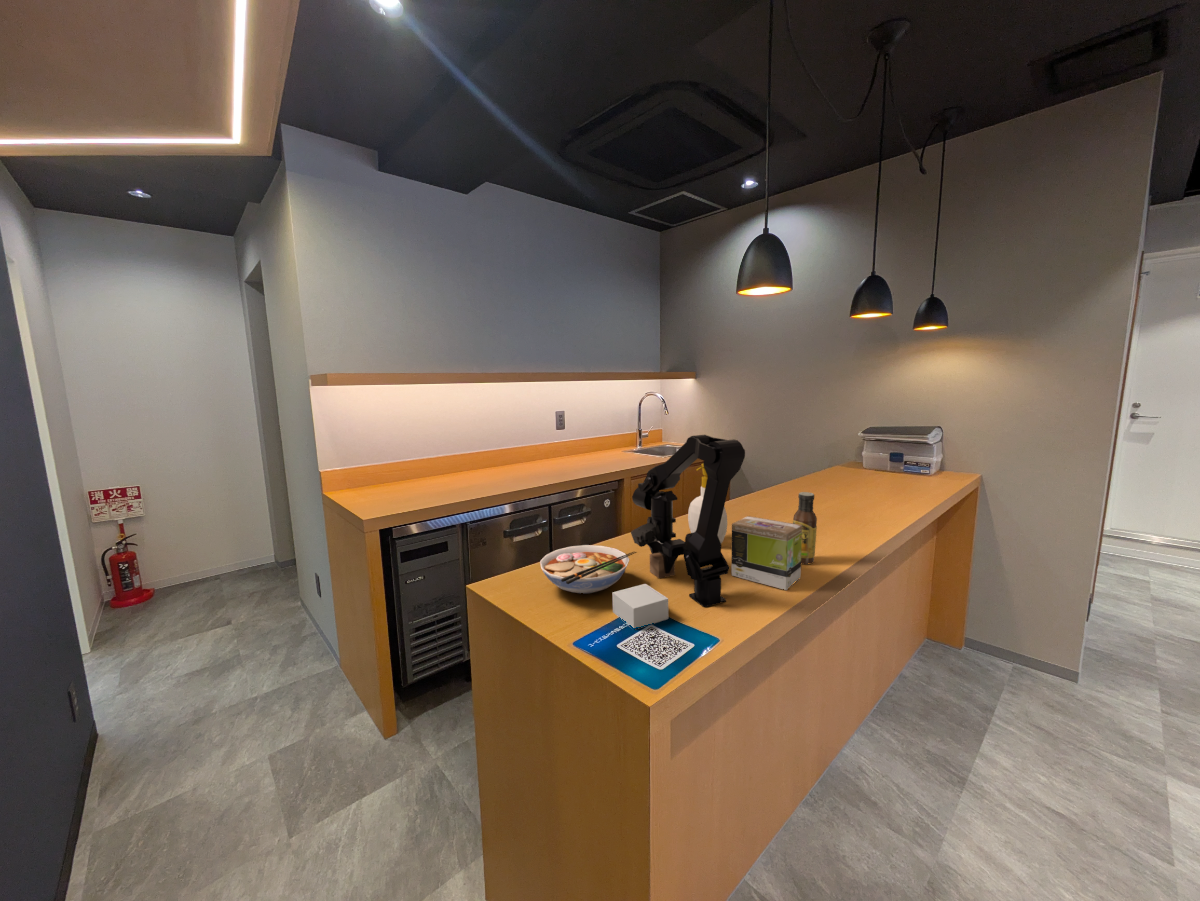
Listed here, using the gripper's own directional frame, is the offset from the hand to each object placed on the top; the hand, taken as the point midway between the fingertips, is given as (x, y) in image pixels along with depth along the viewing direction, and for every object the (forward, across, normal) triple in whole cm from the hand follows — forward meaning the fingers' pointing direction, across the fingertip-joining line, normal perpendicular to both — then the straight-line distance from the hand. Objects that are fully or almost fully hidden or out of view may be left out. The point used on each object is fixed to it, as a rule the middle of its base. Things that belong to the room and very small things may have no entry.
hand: (662, 569), depth 128 cm
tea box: (+1, +14, +23) cm, 27 cm away
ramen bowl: (+1, -1, -22) cm, 22 cm away
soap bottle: (+1, -14, +24) cm, 28 cm away
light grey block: (+1, +18, -16) cm, 24 cm away
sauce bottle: (+1, +10, +40) cm, 41 cm away
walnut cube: (+1, 0, 0) cm, 1 cm away
